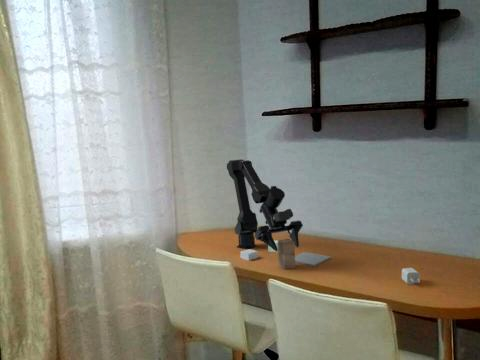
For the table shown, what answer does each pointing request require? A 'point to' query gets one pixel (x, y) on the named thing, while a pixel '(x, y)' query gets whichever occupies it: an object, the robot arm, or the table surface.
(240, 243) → the robot arm
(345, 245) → the table surface
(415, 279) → the usb wall charger
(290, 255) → the walnut pillar
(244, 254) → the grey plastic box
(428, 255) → the table surface
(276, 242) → the pale green cube
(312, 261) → the slate coaster
